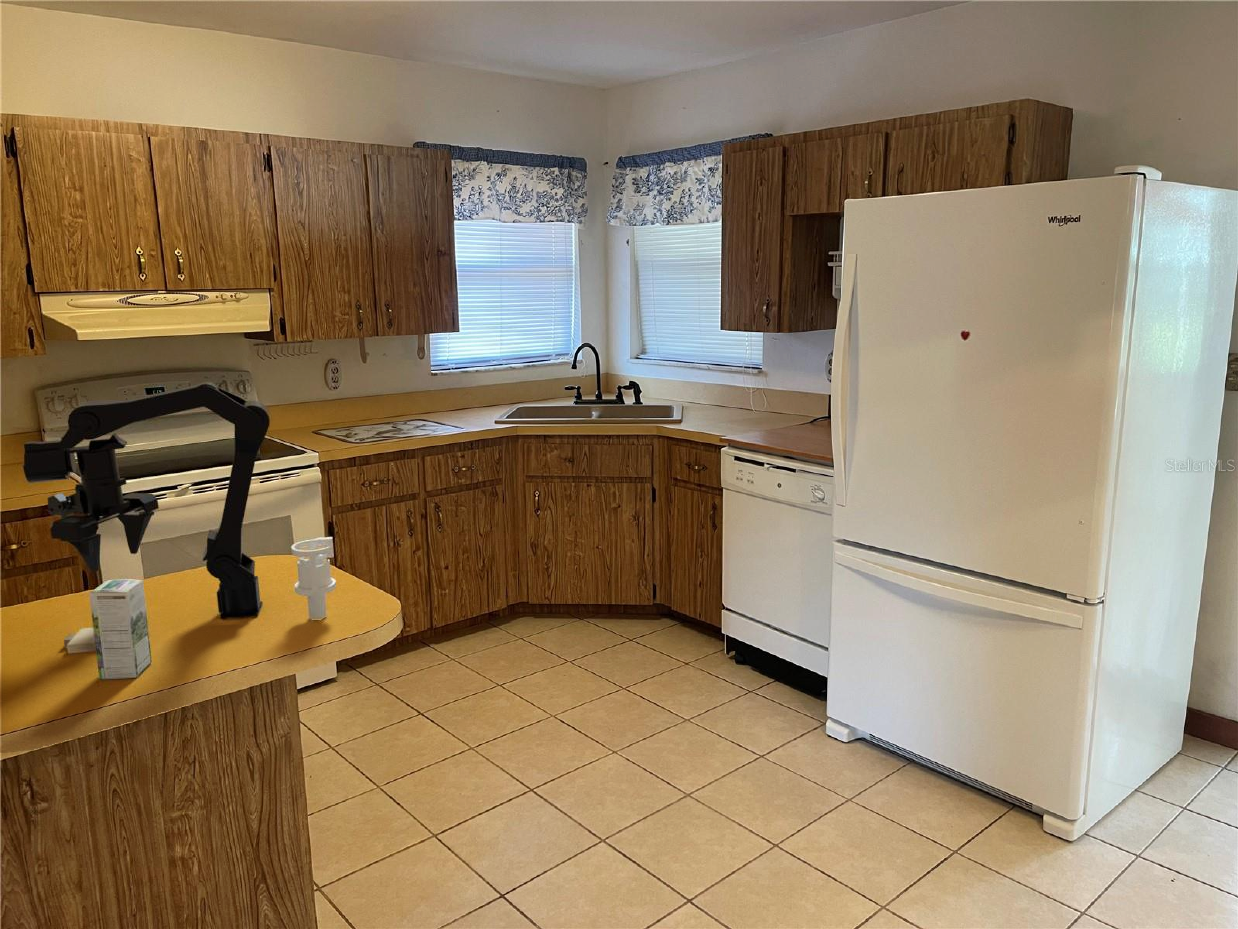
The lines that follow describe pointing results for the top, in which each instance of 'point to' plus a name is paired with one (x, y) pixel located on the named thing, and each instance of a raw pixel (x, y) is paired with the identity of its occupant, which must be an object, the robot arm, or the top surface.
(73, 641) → the cream flat tabbed slab
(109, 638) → the syrup box
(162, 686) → the top surface
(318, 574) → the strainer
